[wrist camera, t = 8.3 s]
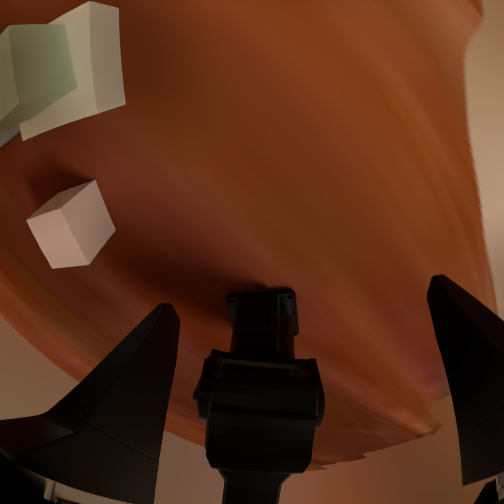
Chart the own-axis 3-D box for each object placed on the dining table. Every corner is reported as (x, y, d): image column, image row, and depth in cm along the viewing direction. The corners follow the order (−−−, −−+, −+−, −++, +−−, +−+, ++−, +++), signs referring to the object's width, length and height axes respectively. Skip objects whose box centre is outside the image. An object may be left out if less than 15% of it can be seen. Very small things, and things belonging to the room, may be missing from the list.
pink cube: (116, 229, 22) (88, 264, 18) (79, 236, 23) (52, 268, 19) (95, 179, 19) (60, 208, 15) (59, 192, 20) (26, 220, 16)
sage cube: (65, 25, 9) (8, 25, 5) (77, 87, 11) (19, 102, 7) (20, 62, 9) (-32, 75, 5) (31, 118, 12) (-20, 142, 8)
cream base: (127, 103, 16) (97, 113, 13) (53, 126, 16) (22, 140, 13) (120, 8, 11) (89, 0, 8) (44, 45, 12) (11, 49, 9)
